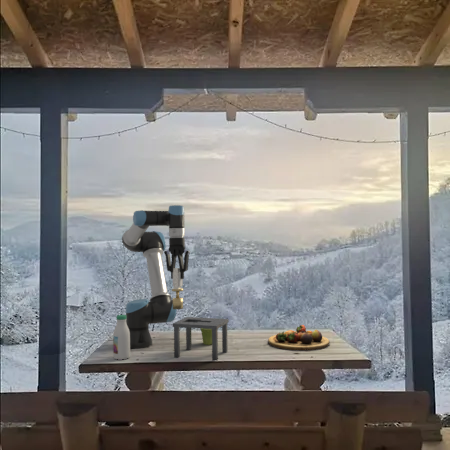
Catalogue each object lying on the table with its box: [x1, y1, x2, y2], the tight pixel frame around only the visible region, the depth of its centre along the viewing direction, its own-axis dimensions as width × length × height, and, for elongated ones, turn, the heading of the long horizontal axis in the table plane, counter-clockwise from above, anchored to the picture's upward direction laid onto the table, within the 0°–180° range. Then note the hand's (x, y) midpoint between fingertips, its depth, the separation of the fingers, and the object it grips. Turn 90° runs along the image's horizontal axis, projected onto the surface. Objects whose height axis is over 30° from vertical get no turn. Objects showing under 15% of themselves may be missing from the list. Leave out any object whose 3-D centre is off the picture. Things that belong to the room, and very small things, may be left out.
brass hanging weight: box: [171, 267, 184, 310], centre depth 238 cm, size 6×6×20 cm
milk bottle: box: [112, 314, 131, 361], centre depth 232 cm, size 8×8×20 cm
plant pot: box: [199, 328, 212, 346], centre depth 259 cm, size 9×9×9 cm
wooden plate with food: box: [267, 324, 330, 351], centre depth 258 cm, size 32×32×8 cm
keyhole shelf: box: [172, 316, 230, 361], centre depth 237 cm, size 22×18×16 cm
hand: (177, 285), depth 238 cm, fingers closed on brass hanging weight, 2 cm apart
